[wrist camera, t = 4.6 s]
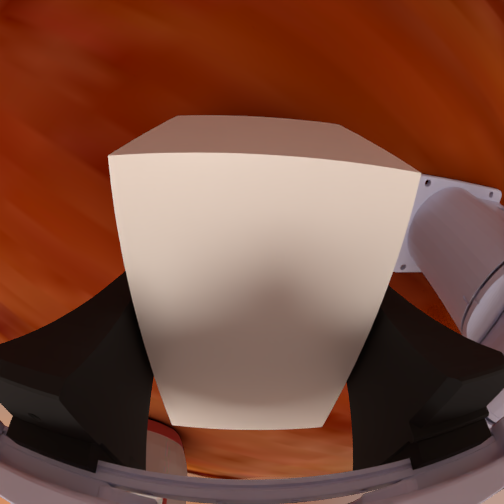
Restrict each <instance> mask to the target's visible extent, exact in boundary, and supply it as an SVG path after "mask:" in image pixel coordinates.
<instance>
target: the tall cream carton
mask: <svg viewBox="0 0 504 504" xmlns="http://www.w3.org/2000/svg"><path fill="white" fill-rule="evenodd" d="M108 161H109V171H110V180H111V188H112V196H113V203H114V210H115V216H116V222H117V228H118V234H119V240H120V245H121V251H122V256H123V261H124V266H125V270H126V275H127V279H128V284H129V288H130V292H131V297H132V301H133V305H134V309H135V313H136V316H137V320H138V324H139V328H140V331H141V335H142V338H143V342H144V345H145V348H146V352H147V355H148V358H149V361H150V365H151V368H152V371H153V374H154V377H155V380H156V383H157V386H158V389H159V391H160V394H161V397H162V400H163V403H164V405H165V408H166V411H167V413H168V416H169V419H170V421H171V424H172V425H176V426H186V427H198V428H212V429H235V430H277V429H300V428H314V427H322V426H323V424H324V422H325V421H326V419H327V417H328V415H329V413H330V412H331V410H332V408H333V406H334V404H335V402H336V401H337V399H338V397H339V395H340V393H341V391H342V389H343V387H344V385H345V383H346V381H347V379H348V377H349V375H350V373H351V371H352V369H353V367H354V365H355V363H356V361H357V359H358V357H359V354H360V352H361V350H362V348H363V346H364V343H365V341H366V339H367V337H368V334H369V332H370V330H371V327H372V325H373V323H374V320H375V318H376V315H377V313H378V310H379V308H380V305H381V303H382V300H383V298H384V295H385V292H386V290H387V287H388V284H389V282H390V279H391V276H392V273H393V270H394V267H395V264H396V262H397V259H398V256H399V252H400V249H401V246H402V243H403V240H404V237H405V233H406V230H407V227H408V223H409V220H410V216H411V212H412V209H413V205H414V201H415V197H416V193H417V189H418V185H419V181H420V177H421V173H420V172H419V171H417V170H416V169H414V168H413V167H411V166H410V165H408V164H407V163H405V162H404V161H402V160H400V159H399V158H397V157H396V156H394V155H392V154H391V153H389V152H387V151H386V150H384V149H382V148H381V147H379V146H377V145H375V144H374V143H372V142H370V141H368V140H367V139H365V138H363V137H361V136H359V135H358V134H356V133H354V132H352V131H350V130H348V129H346V128H344V127H343V126H341V125H339V124H332V123H324V122H316V121H306V120H296V119H285V118H272V117H255V116H226V115H189V116H176V117H174V118H172V119H170V120H168V121H166V122H164V123H162V124H161V125H159V126H157V127H155V128H153V129H152V130H150V131H148V132H146V133H144V134H143V135H141V136H139V137H138V138H136V139H134V140H132V141H131V142H129V143H127V144H126V145H124V146H123V147H121V148H119V149H118V150H116V151H114V152H113V153H111V154H110V155H108Z"/></svg>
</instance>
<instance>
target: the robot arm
mask: <svg viewBox="0 0 504 504" xmlns="http://www.w3.org/2000/svg"><path fill="white" fill-rule="evenodd" d="M426 180H428V183H427V184H425V182H426ZM489 194H490V195H489ZM501 195H502V194H501V191H500V190H498V189H496V188H491V187H487V186H483V185H478V184H473V183H469V182H464V181H459V180H454V179H448V178H443V177H438V176H432V175H426V174H421V177H420V181H419V185H418V189H417V193H416V197H415V201H414V205H413V209H412V212H411V216H410V220H409V223H408V227H407V230H406V233H405V237H404V240H403V243H402V246H401V249H400V252H399V256H398V259H397V262H396V264H395V267H394V270H393V271H394V272H422V273H423V274H424V276H425V277H426V279H427V280H428V281H429V283H430V284H431V286H432V287H433V289H434V290H435V292H436V293H437V295H438V296H439V298H440V300H441V301H442V303H443V304H444V306H445V307H446V309H447V311H448V312H449V314H450V315H451V317H452V319H453V320H454V322H455V324H456V325H457V327H458V329H459V330H460V332H461V334H462V335H460V334H458V333H456V332H454V331H453V330H451V329H449V328H447V327H446V326H444V325H442V324H440V323H439V322H437V321H435V320H434V319H432V318H431V317H429V316H428V315H426V314H425V313H423V312H422V311H421V310H419V309H418V308H416V307H415V306H413V305H412V304H411V303H409V302H408V301H407V300H406V299H404V298H403V297H402V296H401V295H399V294H398V293H397V292H396V291H395V290H393V289H392V288H391V287H390V286H389V285H388V287H387V290H386V292H385V295H384V298H383V300H382V303H381V305H380V308H379V310H378V313H377V315H376V318H375V320H374V323H373V325H372V327H371V330H370V332H369V334H368V337H367V339H366V341H365V343H364V346H363V348H362V350H361V352H360V354H359V357H358V359H357V361H356V363H355V365H354V367H353V369H352V371H351V373H350V375H349V377H348V379H347V387H348V393H349V401H350V410H351V420H352V435H353V471H349V472H343V473H337V474H330V475H322V476H313V477H302V478H289V479H269V480H232V479H211V478H197V477H188V476H179V475H171V474H164V473H157V472H151V471H146V443H147V428H148V415H149V406H150V397H151V390H152V383H153V377H154V374H153V371H152V368H151V365H150V361H149V358H148V355H147V352H146V348H145V345H144V342H143V338H142V335H141V331H140V328H139V324H138V320H137V316H136V313H135V309H134V305H133V301H132V297H131V292H130V288H129V284H128V279H127V275H126V271H125V272H124V273H123V274H122V275H120V276H119V277H118V278H117V279H115V280H114V281H113V282H112V283H111V284H109V285H108V286H107V287H106V288H104V289H103V290H102V291H101V292H99V293H98V294H97V295H95V296H94V297H93V298H91V299H90V300H88V301H87V302H85V303H84V304H82V305H81V306H79V307H78V308H76V309H75V310H73V311H71V312H70V313H68V314H66V315H64V316H63V317H61V318H59V319H58V320H56V321H54V322H52V323H50V324H48V325H46V326H44V327H42V328H40V329H38V330H36V331H33V332H31V333H29V334H26V335H24V336H21V337H19V338H16V339H13V340H11V341H8V342H5V343H2V344H0V403H1V404H2V405H3V406H4V407H5V408H6V409H7V410H8V411H9V412H10V413H11V414H12V415H13V417H12V420H11V422H10V425H9V427H7V426H5V425H4V424H3V423H2V422H1V421H0V497H2V498H3V499H5V500H6V501H8V502H10V503H11V504H158V503H157V501H156V500H155V499H153V498H149V497H145V496H141V495H137V494H134V493H138V494H143V495H148V496H153V497H159V498H166V499H173V500H180V501H190V502H199V503H213V504H284V503H297V502H307V501H316V500H324V499H331V498H336V497H343V496H348V495H354V494H359V493H363V492H368V491H372V490H375V491H372V492H369V493H365V494H363V495H362V497H361V498H359V499H357V500H355V501H353V502H351V503H348V504H481V503H483V502H484V501H486V500H487V499H489V498H490V497H492V496H493V495H495V494H496V493H498V492H499V491H500V490H502V489H503V488H504V206H502V205H501V204H500V199H501ZM402 265H403V266H402ZM401 266H402V267H401ZM377 489H378V490H377ZM127 491H128V492H127ZM131 492H133V493H131Z"/></svg>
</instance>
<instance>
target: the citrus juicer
mask: <svg viewBox="0 0 504 504" xmlns="http://www.w3.org/2000/svg"><path fill="white" fill-rule="evenodd" d="M146 471H151V472H157V473H164V474H171V475H179V476H187V466H186V459H185V455H184V448H183V445H182V442H181V439H180V436H179V434H178V433H177V432H175V430H174V429H172V428H169V427H167V426H165V425H163V424H161V423H158V422H155V421H153V420H149V419H148V428H147V443H146ZM127 492H128V491H127ZM131 493H133V492H131ZM134 494H137V495H141V496H145V497H149V498H153V499H155V500H156V501H157V503H158V504H186V501H180V500H173V499H166V498H159V497H153V496H148V495H143V494H138V493H134Z"/></svg>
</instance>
